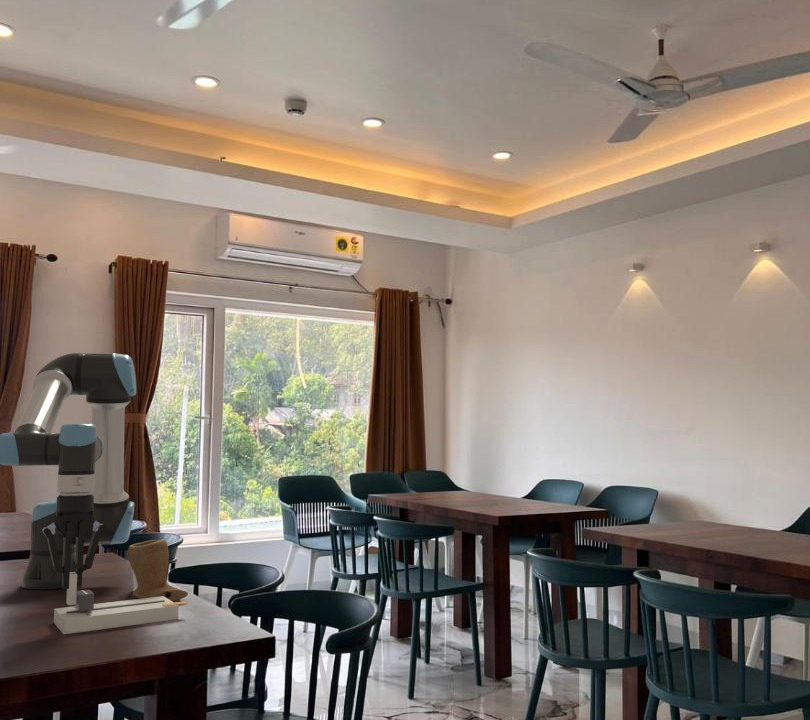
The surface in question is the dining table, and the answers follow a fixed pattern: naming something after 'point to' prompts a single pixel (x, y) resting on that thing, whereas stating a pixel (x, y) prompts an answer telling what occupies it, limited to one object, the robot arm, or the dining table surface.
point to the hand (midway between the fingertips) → (71, 603)
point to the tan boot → (152, 570)
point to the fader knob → (84, 600)
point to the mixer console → (116, 614)
